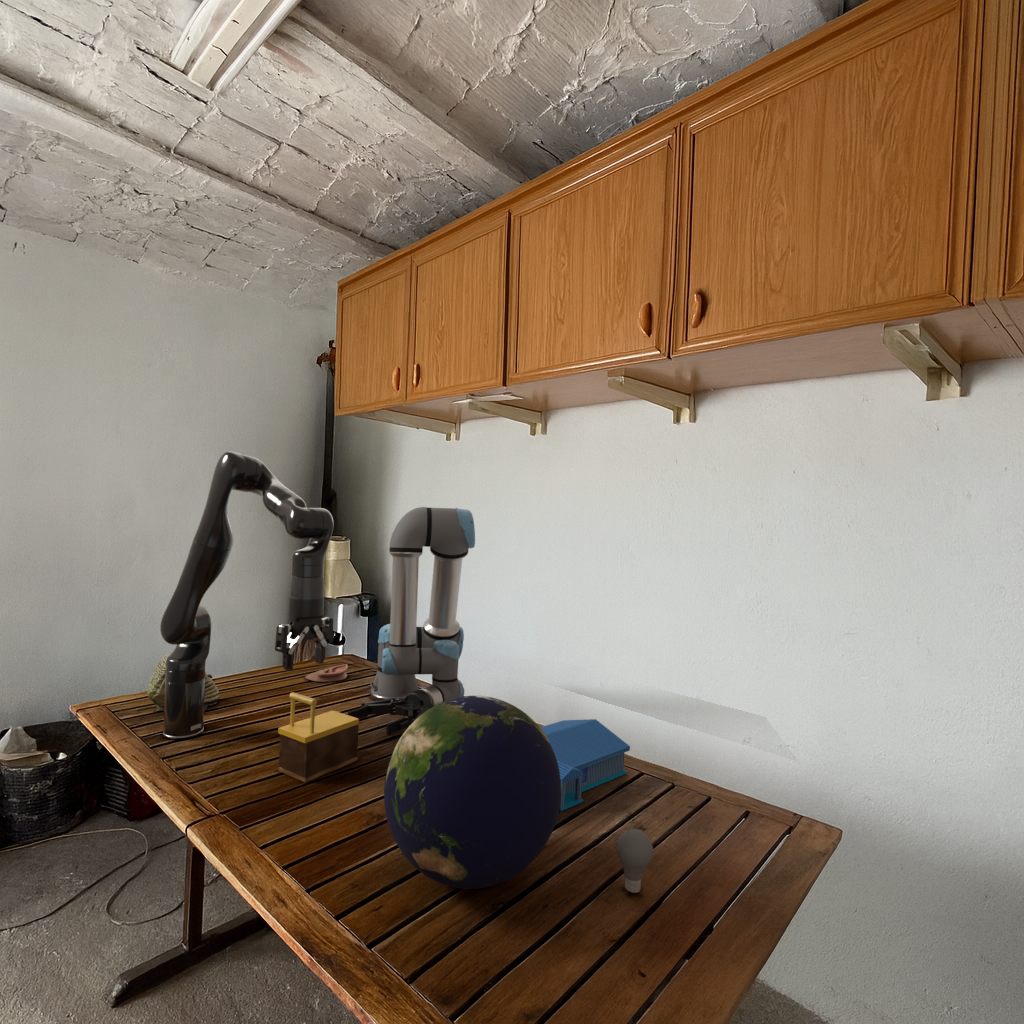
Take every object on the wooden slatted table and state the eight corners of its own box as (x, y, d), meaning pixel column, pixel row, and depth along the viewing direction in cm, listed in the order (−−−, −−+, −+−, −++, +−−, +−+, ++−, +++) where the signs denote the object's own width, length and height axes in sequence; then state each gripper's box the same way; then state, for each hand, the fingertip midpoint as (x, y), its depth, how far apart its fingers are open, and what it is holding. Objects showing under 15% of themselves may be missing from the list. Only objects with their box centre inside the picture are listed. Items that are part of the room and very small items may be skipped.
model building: (516, 830, 123) (519, 779, 123) (442, 785, 141) (444, 740, 141) (638, 777, 150) (640, 735, 149) (562, 745, 168) (564, 707, 167)
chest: (305, 782, 140) (306, 743, 140) (278, 770, 145) (279, 733, 145) (357, 760, 153) (358, 724, 153) (331, 750, 158) (332, 715, 158)
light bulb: (610, 879, 108) (613, 822, 108) (644, 879, 109) (647, 822, 109) (619, 902, 102) (622, 840, 102) (655, 901, 103) (658, 840, 103)
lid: (305, 743, 140) (306, 703, 139) (278, 733, 145) (279, 694, 144) (358, 723, 153) (360, 687, 153) (332, 715, 158) (333, 679, 158)
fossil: (144, 707, 182) (145, 655, 182) (212, 696, 194) (213, 647, 194) (151, 716, 175) (153, 662, 175) (221, 703, 188) (223, 653, 188)
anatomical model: (300, 668, 215) (317, 660, 226) (300, 679, 215) (317, 671, 226) (336, 672, 212) (352, 663, 224) (336, 683, 212) (351, 675, 224)
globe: (343, 899, 100) (350, 710, 100) (435, 815, 128) (441, 667, 127) (518, 958, 89) (528, 746, 88) (578, 852, 117) (585, 690, 116)
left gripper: (291, 600, 136) (288, 676, 136) (342, 594, 148) (339, 663, 148) (269, 596, 140) (266, 669, 140) (320, 590, 152) (318, 657, 152)
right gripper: (457, 726, 171) (404, 750, 154) (389, 706, 185) (333, 726, 167) (458, 698, 171) (405, 719, 153) (390, 681, 185) (334, 698, 167)
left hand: (304, 666), depth 144 cm, fingers open, 8 cm apart
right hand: (367, 723), depth 160 cm, fingers open, 13 cm apart
